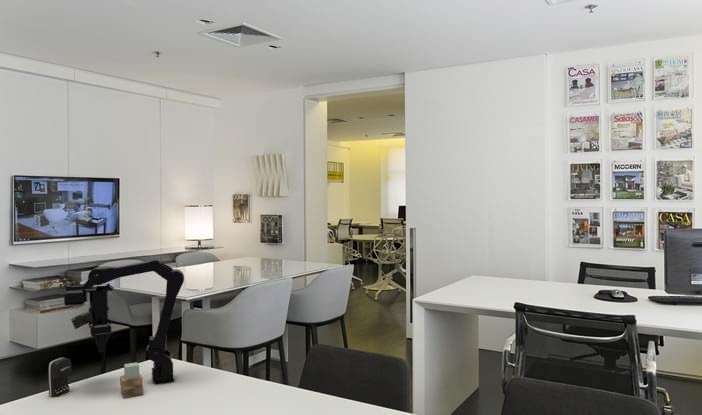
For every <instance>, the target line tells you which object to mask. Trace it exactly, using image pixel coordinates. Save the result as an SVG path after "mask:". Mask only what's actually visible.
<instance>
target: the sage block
mask: <svg viewBox="0 0 702 415" xmlns="http://www.w3.org/2000/svg"><path fill="white" fill-rule="evenodd" d="M123 369H124V370H123V371H124V372H123V373H124V374H123V375H124V377H125V378H126V380H127V379H133V378H139V373H140V365H139V363H138V362H132V363H131V362H129V363H125V364H124V365H123Z"/></svg>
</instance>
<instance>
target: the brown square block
mask: <svg viewBox="0 0 702 415" xmlns="http://www.w3.org/2000/svg"><path fill="white" fill-rule="evenodd" d="M143 381H144V380H143V376H142V374H140V372H139V378H133V379H127V380H126V378H125V377H124V374H123V375H119V385H120V388H121V387H122V389H123V390H127V389H133V388H139V387H143V386H144V382H143ZM143 388H144V387H143Z"/></svg>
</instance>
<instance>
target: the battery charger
mask: <svg viewBox="0 0 702 415" xmlns="http://www.w3.org/2000/svg"><path fill="white" fill-rule="evenodd" d="M47 366H48V368H47V379H48V380H47V381H48V382H47V383H48V396H49V397H59V396H61V395H63V394H66V393H68V392H69V391H70V386H69V382H68V381H69V379H68V376H69V374H71V373H72V361H71V359H70V358H67V357H59V358H56V359H54V360H52V361H49V363H48V365H47Z"/></svg>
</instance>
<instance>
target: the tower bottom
mask: <svg viewBox="0 0 702 415" xmlns="http://www.w3.org/2000/svg"><path fill="white" fill-rule="evenodd" d="M120 393H121V396H122V399H124V400H125V399H130V398H136V397H141V396H144V387H139V388H133V389H127V390H123V389H122V387H121V386H120Z"/></svg>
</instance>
